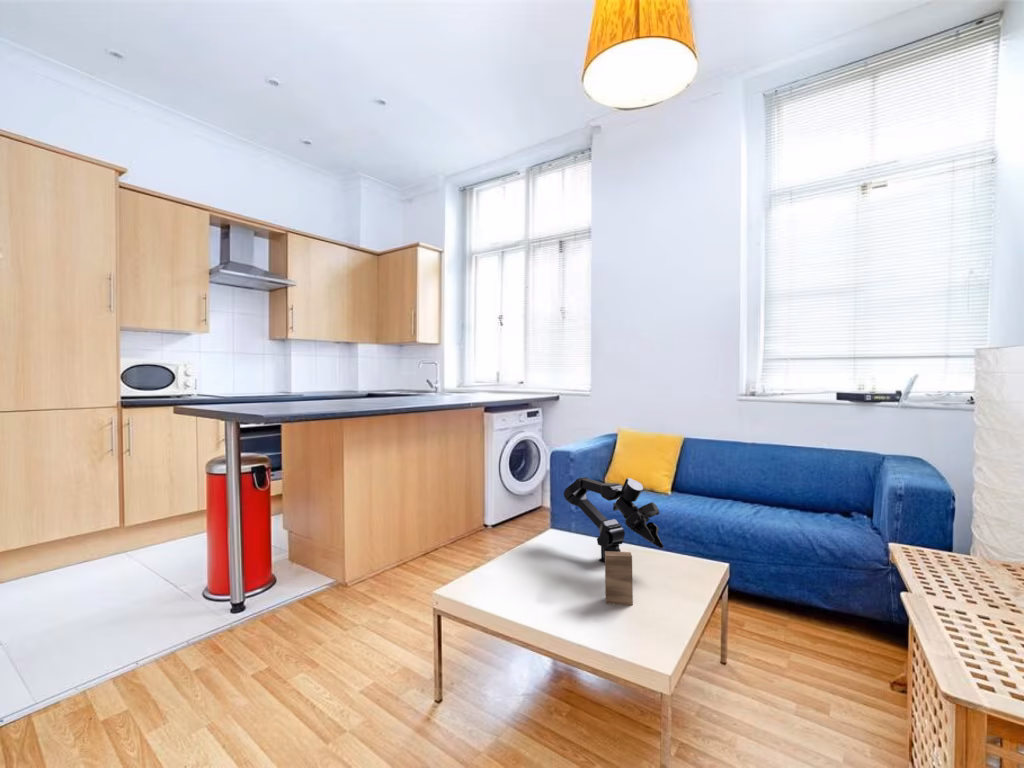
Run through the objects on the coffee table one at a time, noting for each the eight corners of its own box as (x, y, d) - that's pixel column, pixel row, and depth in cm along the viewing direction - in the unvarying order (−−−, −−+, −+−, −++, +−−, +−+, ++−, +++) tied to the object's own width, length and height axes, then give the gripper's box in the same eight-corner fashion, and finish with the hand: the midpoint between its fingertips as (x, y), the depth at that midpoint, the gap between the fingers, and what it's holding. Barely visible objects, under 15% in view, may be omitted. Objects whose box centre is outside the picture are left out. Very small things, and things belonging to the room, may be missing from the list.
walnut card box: (605, 598, 141) (604, 551, 141) (631, 599, 140) (630, 552, 140) (606, 603, 137) (605, 555, 137) (632, 605, 136) (632, 556, 136)
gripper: (636, 487, 155) (666, 521, 143) (654, 503, 168) (683, 535, 156) (613, 509, 156) (641, 544, 145) (632, 523, 169) (660, 556, 157)
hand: (658, 544), depth 151 cm, fingers open, 9 cm apart
